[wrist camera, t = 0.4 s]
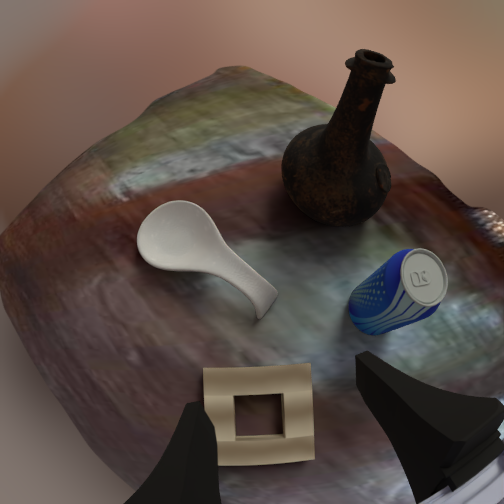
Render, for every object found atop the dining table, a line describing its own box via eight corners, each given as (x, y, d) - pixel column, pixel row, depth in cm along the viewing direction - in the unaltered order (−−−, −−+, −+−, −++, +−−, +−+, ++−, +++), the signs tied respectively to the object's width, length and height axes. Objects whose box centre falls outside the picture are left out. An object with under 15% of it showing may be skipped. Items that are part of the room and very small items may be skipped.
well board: (309, 453, 32) (314, 459, 30) (210, 458, 32) (208, 465, 29) (305, 363, 38) (310, 362, 35) (206, 368, 37) (203, 367, 35)
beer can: (360, 274, 43) (408, 227, 29) (400, 301, 41) (460, 266, 27) (335, 318, 40) (382, 288, 26) (379, 346, 39) (441, 328, 24)
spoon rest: (130, 251, 44) (113, 231, 38) (175, 200, 48) (165, 175, 42) (247, 339, 39) (247, 333, 33) (291, 275, 43) (300, 257, 37)
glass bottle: (350, 259, 44) (443, 135, 19) (257, 204, 48) (267, 52, 22) (384, 188, 50) (450, 74, 25) (306, 144, 54) (333, 18, 28)
